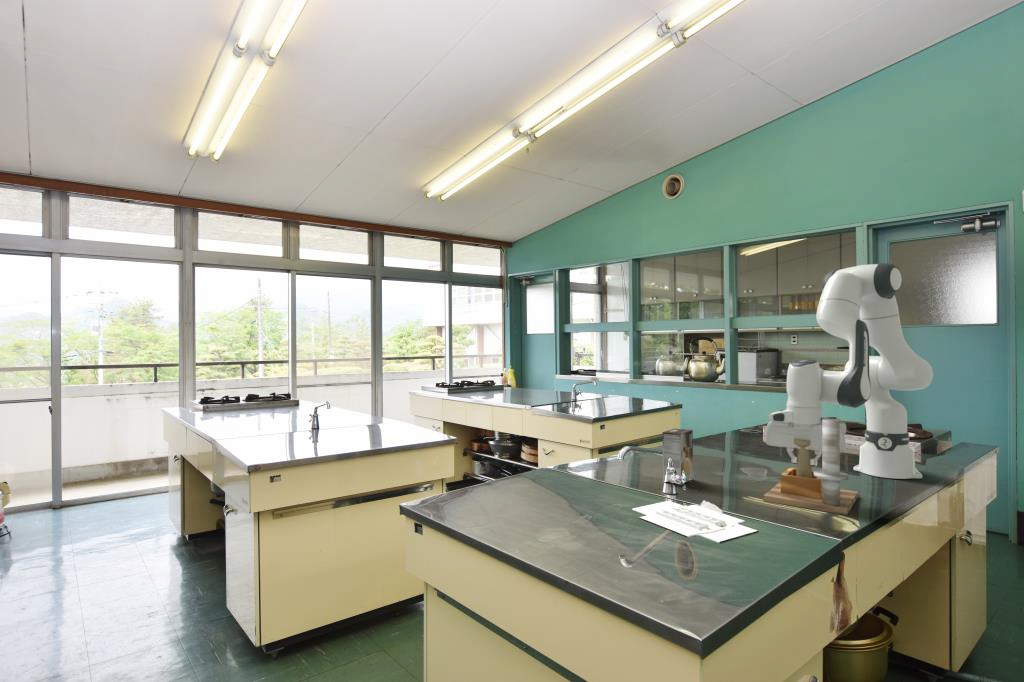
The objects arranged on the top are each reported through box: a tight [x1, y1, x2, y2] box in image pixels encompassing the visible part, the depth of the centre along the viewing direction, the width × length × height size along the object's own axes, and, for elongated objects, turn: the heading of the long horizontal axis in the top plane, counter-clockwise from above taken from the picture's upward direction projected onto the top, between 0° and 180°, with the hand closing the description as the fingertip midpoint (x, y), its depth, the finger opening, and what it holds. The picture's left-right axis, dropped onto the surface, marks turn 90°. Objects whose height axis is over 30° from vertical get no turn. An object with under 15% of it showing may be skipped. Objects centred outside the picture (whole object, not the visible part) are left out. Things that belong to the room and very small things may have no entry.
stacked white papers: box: [631, 499, 759, 544], centre depth 137 cm, size 20×28×4 cm
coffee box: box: [662, 428, 694, 483], centre depth 174 cm, size 9×6×16 cm
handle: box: [794, 439, 813, 478], centre depth 156 cm, size 5×6×15 cm
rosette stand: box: [763, 418, 859, 516], centre depth 153 cm, size 21×20×24 cm
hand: (804, 464), depth 156 cm, fingers closed on handle, 3 cm apart
